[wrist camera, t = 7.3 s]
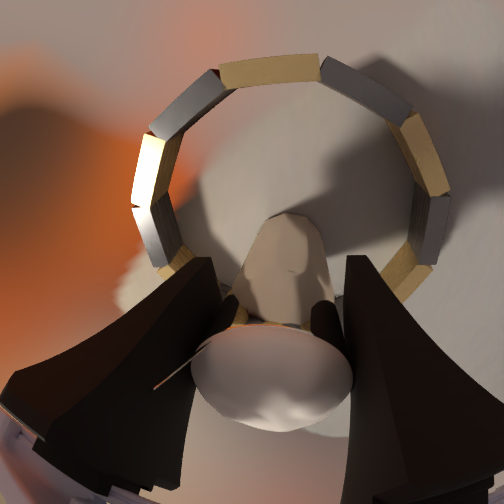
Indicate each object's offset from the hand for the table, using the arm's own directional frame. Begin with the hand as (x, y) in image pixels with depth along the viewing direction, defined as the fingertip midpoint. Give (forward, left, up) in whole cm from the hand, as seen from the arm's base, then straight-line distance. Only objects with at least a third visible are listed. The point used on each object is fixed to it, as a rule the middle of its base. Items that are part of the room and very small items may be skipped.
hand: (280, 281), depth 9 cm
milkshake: (0, +1, -5) cm, 5 cm away
